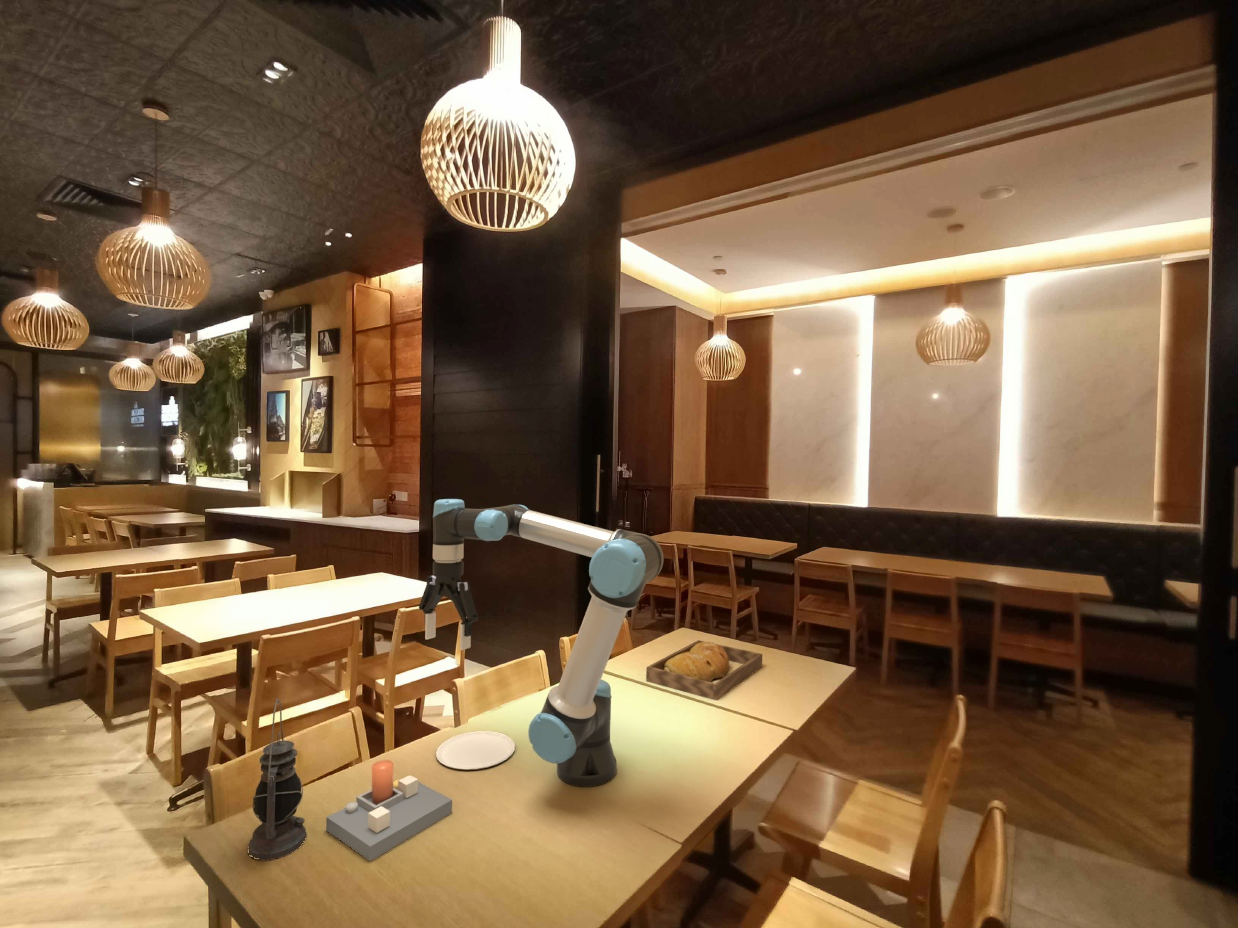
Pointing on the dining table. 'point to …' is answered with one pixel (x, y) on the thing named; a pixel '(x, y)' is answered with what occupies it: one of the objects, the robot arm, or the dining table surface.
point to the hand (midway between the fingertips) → (447, 643)
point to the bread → (700, 662)
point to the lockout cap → (382, 781)
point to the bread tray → (701, 687)
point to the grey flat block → (404, 819)
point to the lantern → (277, 802)
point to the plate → (475, 750)
